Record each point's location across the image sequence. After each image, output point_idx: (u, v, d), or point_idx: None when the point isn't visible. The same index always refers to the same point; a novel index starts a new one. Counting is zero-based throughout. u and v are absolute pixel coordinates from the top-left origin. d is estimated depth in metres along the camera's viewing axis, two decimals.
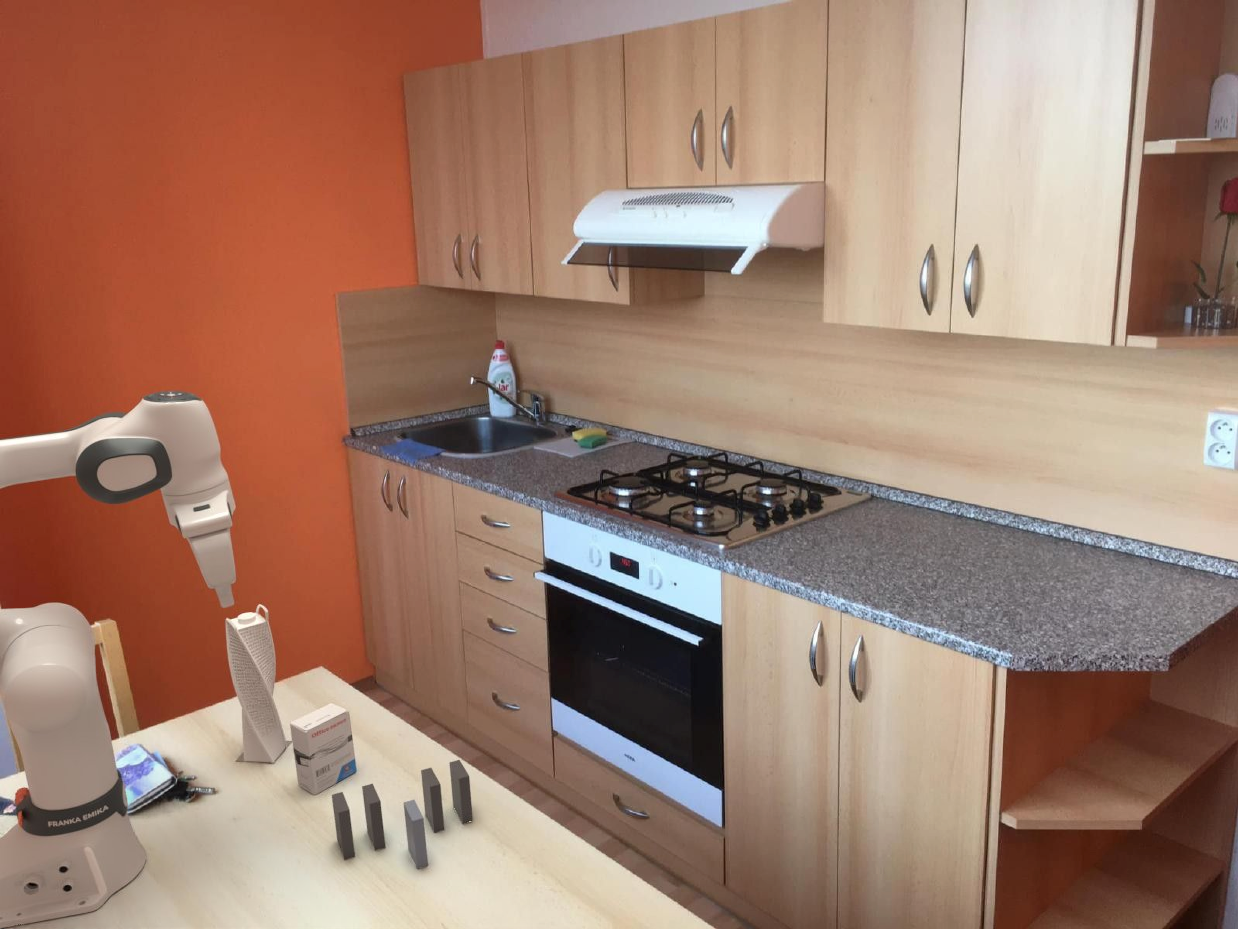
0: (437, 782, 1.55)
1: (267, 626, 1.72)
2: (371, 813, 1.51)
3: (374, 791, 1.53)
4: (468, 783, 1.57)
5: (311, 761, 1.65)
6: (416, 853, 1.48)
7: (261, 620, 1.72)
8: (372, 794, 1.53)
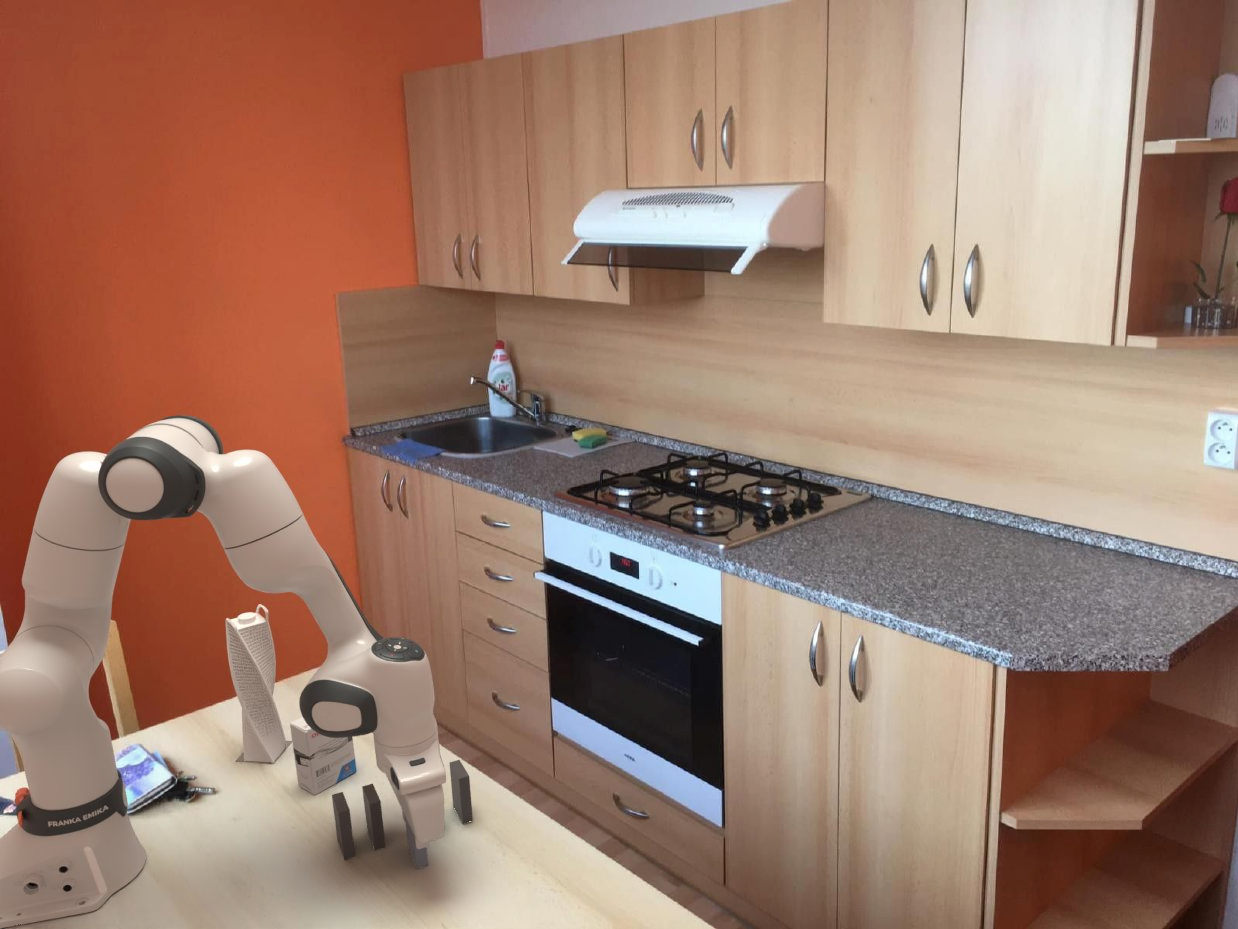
0: None
1: (267, 626, 1.72)
2: (371, 813, 1.51)
3: (374, 791, 1.53)
4: (468, 783, 1.57)
5: (311, 761, 1.65)
6: (416, 853, 1.48)
7: (261, 620, 1.72)
8: (372, 794, 1.53)
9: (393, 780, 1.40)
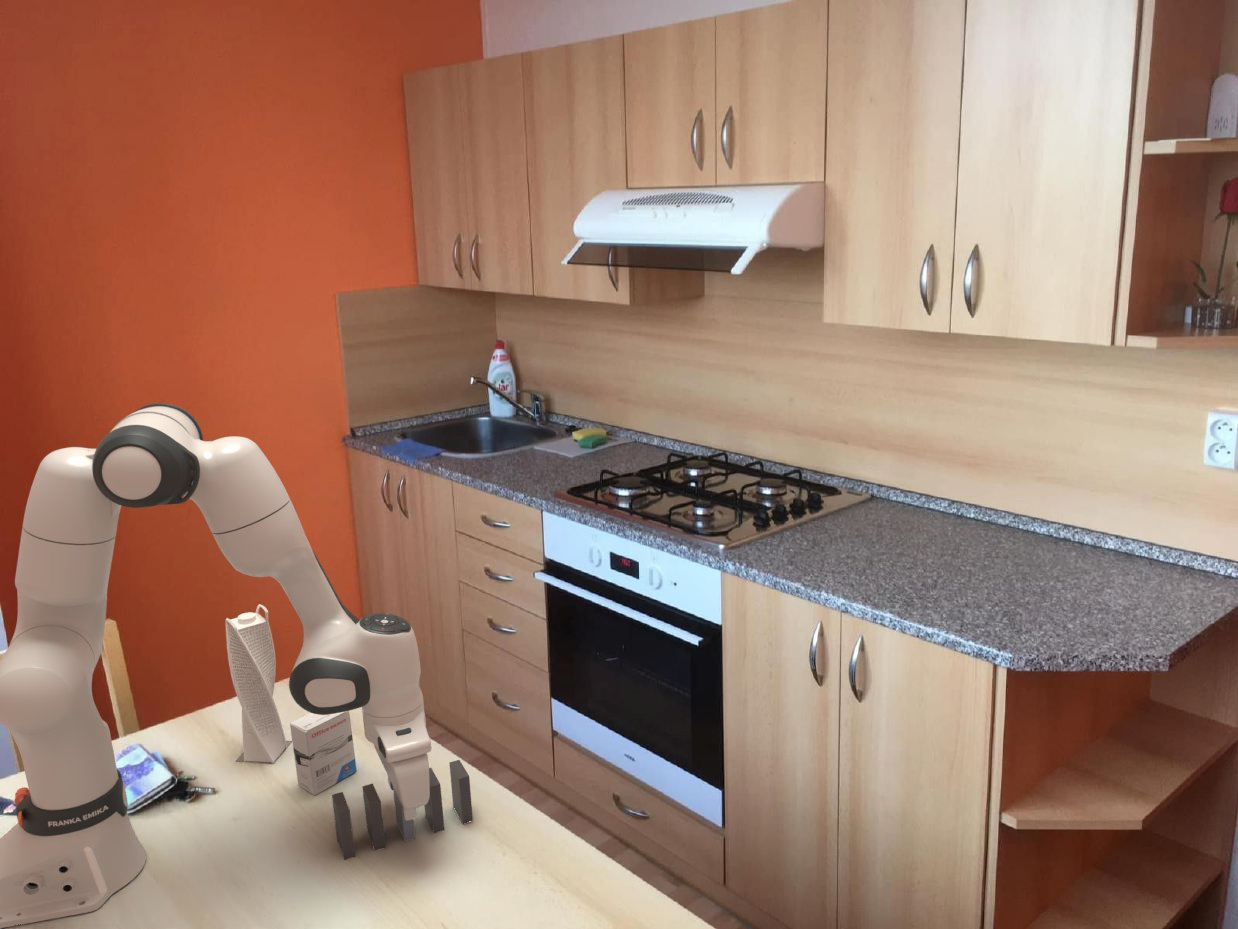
0: (437, 782, 1.55)
1: (267, 626, 1.72)
2: (371, 813, 1.51)
3: (374, 791, 1.53)
4: (468, 783, 1.57)
5: (311, 761, 1.65)
6: (404, 826, 1.54)
7: (261, 620, 1.72)
8: (372, 794, 1.53)
9: (380, 749, 1.46)
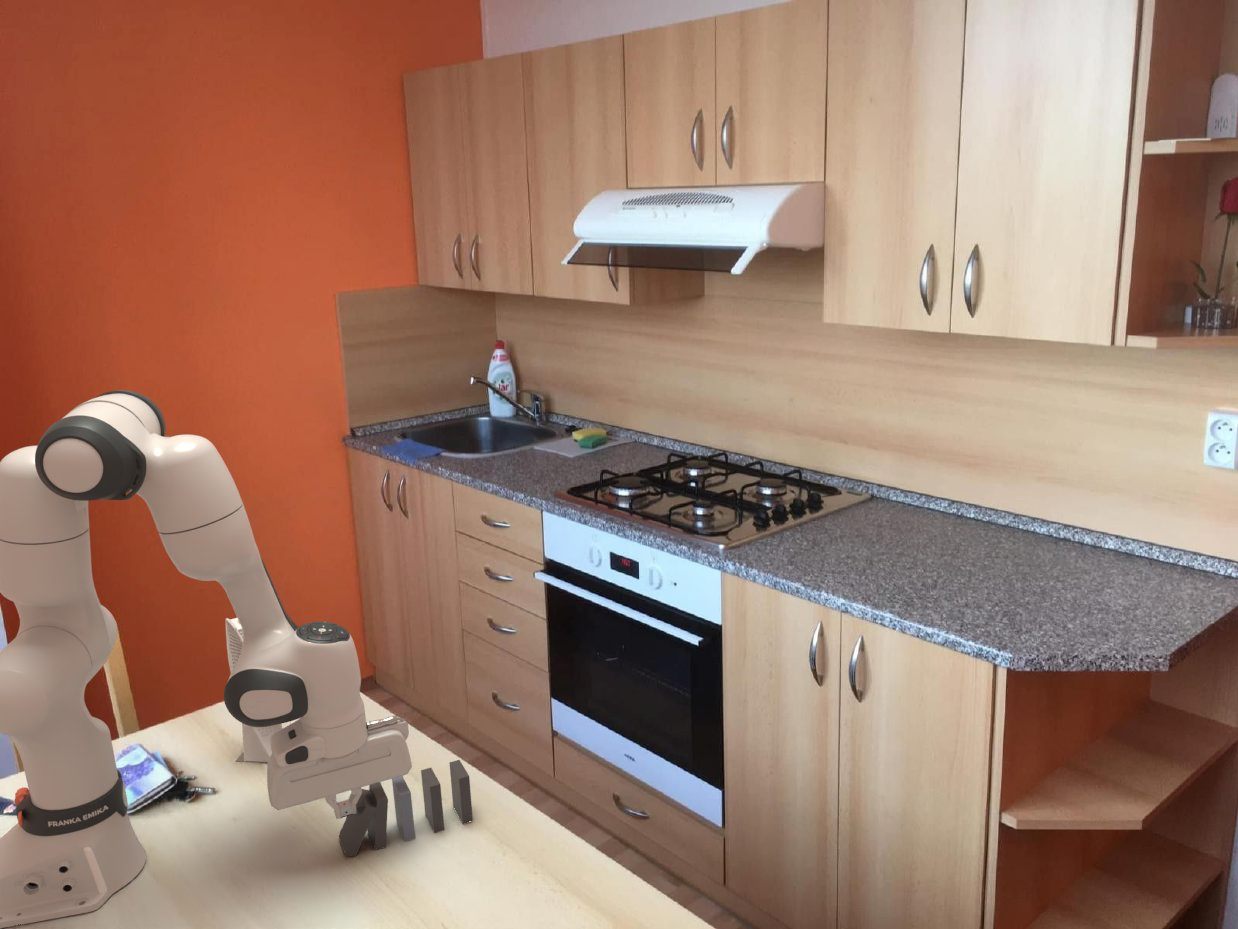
0: (437, 782, 1.55)
1: None
2: (377, 810, 1.51)
3: (381, 789, 1.54)
4: (468, 783, 1.57)
5: None
6: (404, 826, 1.54)
7: None
8: (380, 792, 1.53)
9: None
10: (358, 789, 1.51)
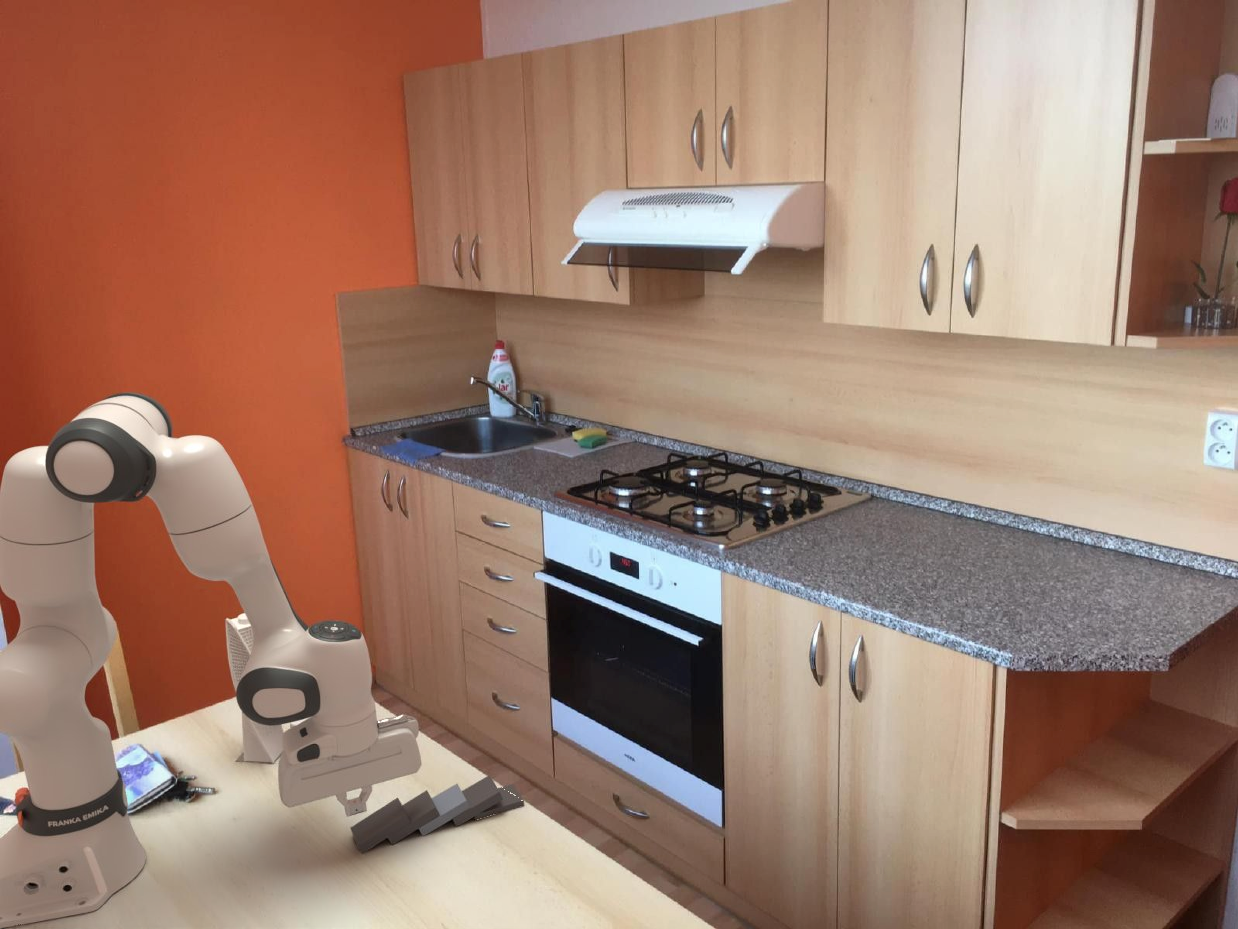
0: (501, 796, 1.60)
1: None
2: (426, 814, 1.55)
3: None
4: None
5: None
6: (434, 820, 1.56)
7: None
8: (434, 804, 1.58)
9: None
10: (368, 787, 1.51)
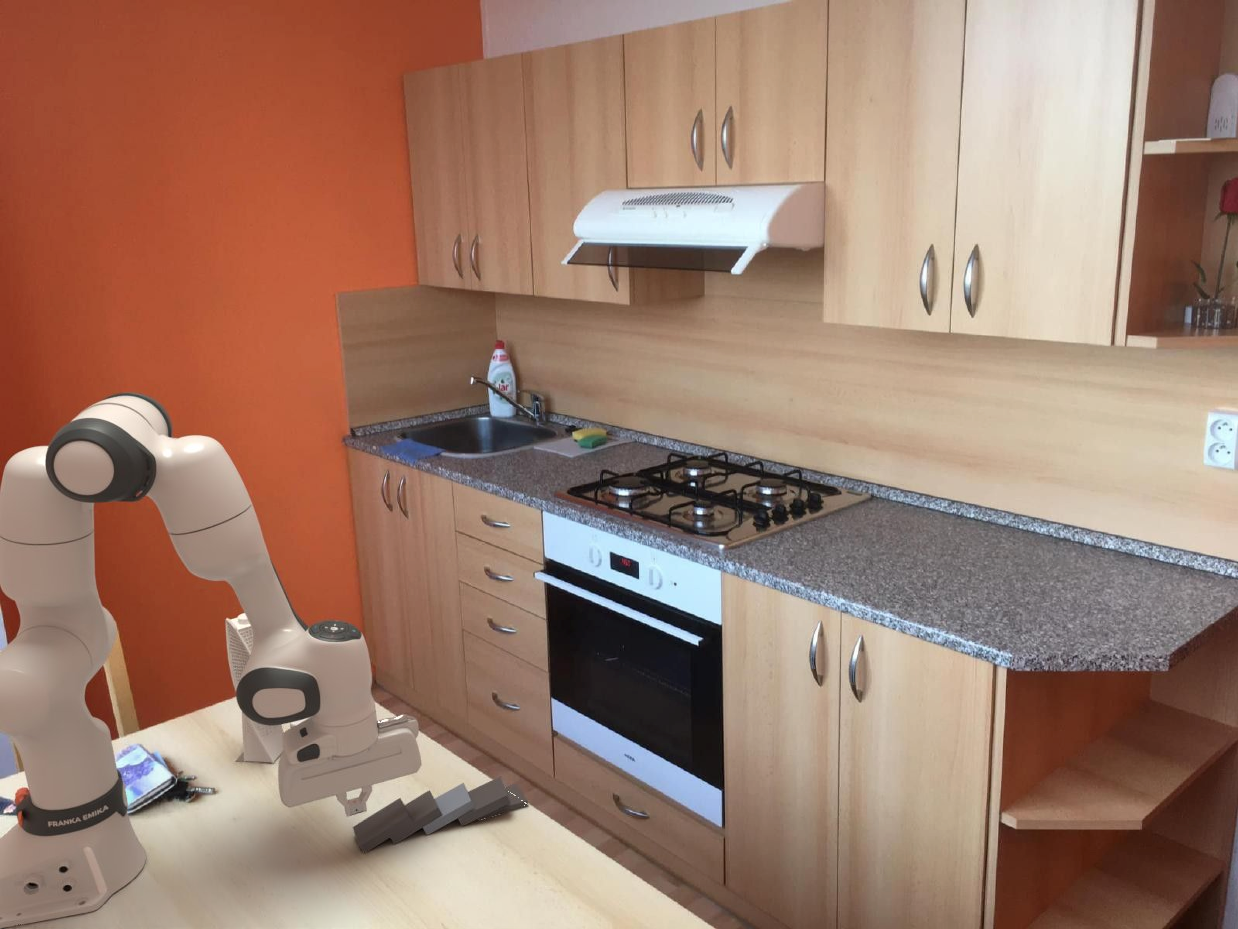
0: (509, 799, 1.59)
1: None
2: (428, 813, 1.55)
3: None
4: None
5: None
6: (438, 819, 1.56)
7: None
8: None
9: None
10: (368, 787, 1.51)
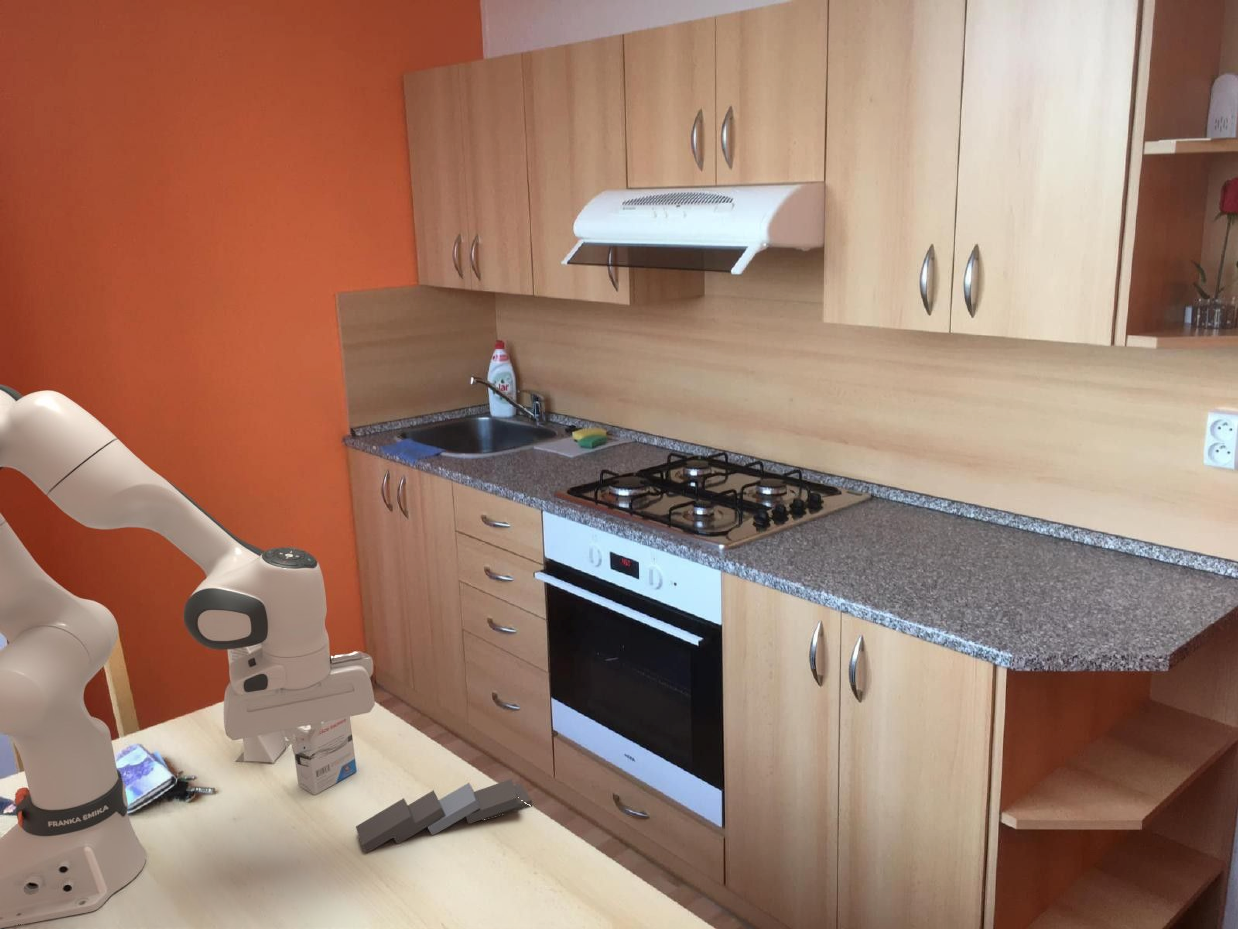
0: None
1: None
2: (432, 814, 1.55)
3: (440, 804, 1.59)
4: None
5: (311, 761, 1.65)
6: (443, 819, 1.56)
7: None
8: (440, 804, 1.58)
9: None
10: (318, 724, 1.46)
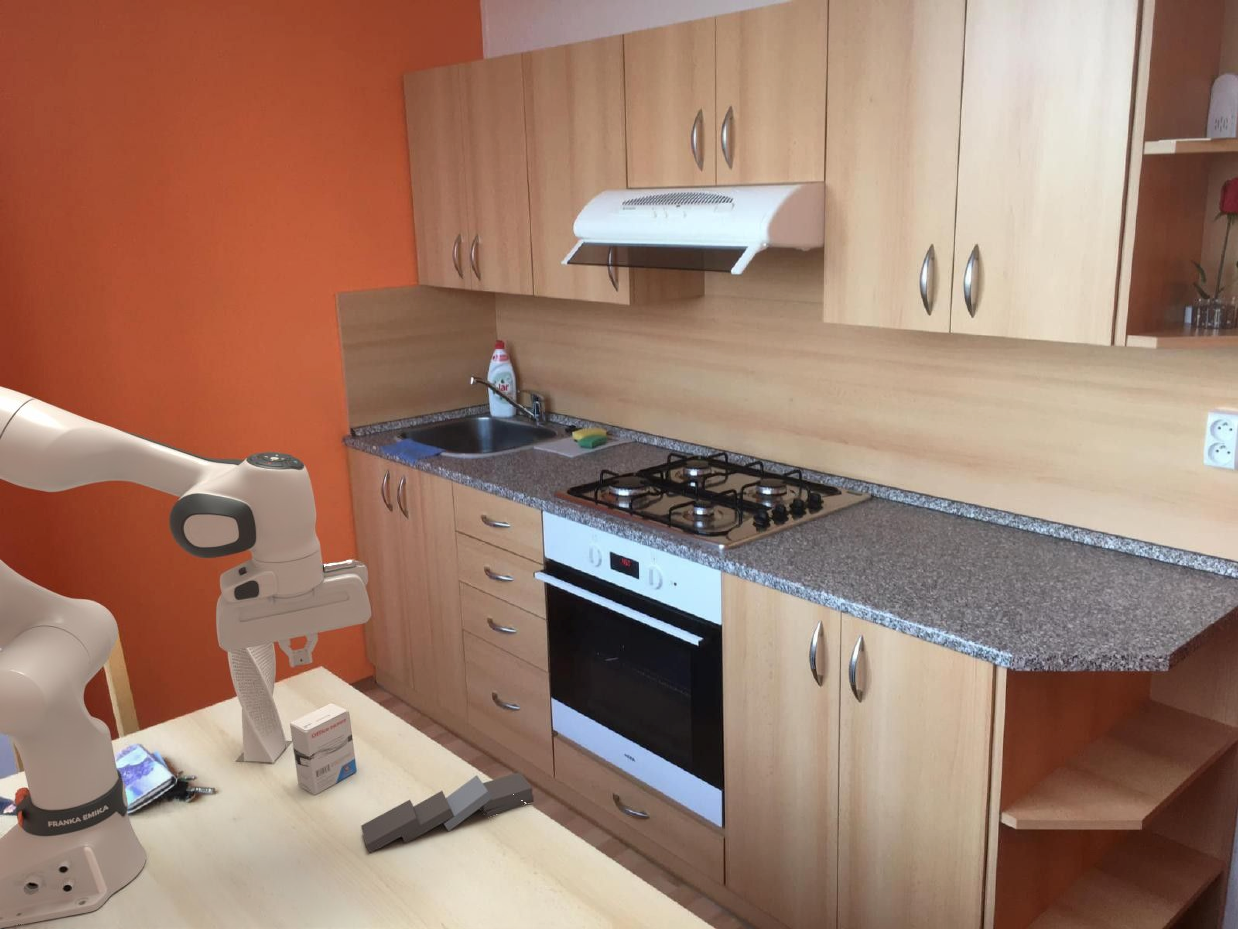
0: None
1: None
2: (440, 814, 1.55)
3: None
4: None
5: (311, 761, 1.65)
6: (458, 813, 1.57)
7: None
8: None
9: None
10: (314, 635, 1.42)
